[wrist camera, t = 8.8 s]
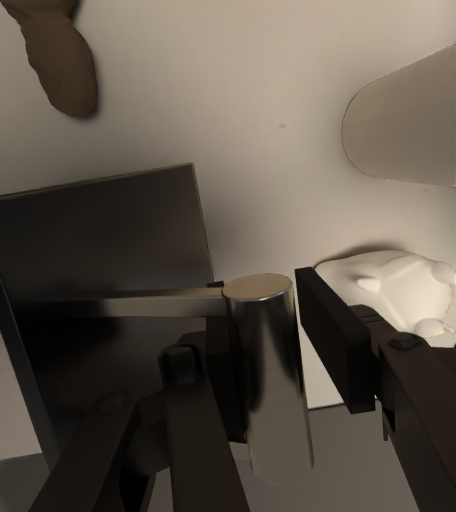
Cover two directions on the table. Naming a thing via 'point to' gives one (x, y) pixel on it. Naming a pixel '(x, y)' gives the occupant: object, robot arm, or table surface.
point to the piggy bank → (395, 288)
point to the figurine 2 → (57, 53)
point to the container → (407, 123)
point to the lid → (141, 312)
